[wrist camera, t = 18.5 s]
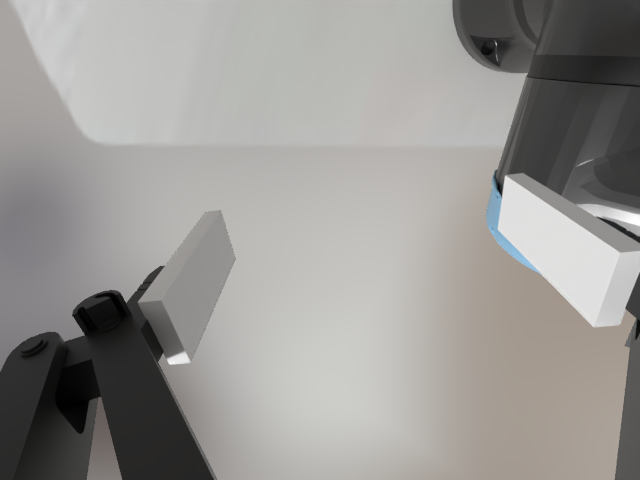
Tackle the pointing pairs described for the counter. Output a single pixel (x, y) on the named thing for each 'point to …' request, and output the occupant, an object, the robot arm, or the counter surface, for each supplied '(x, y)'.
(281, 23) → the counter surface
